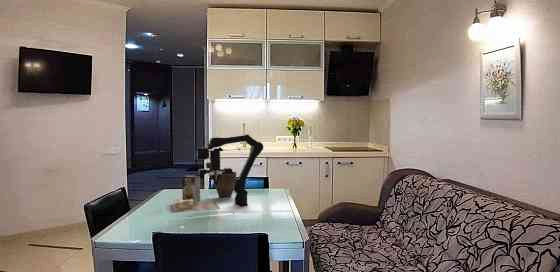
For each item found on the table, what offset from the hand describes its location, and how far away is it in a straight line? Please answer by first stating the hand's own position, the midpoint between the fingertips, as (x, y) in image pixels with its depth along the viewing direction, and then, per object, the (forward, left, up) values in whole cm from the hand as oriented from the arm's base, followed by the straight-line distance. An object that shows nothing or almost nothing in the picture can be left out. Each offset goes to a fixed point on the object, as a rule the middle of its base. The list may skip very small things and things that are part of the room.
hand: (215, 186), depth 223 cm
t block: (+18, 0, -11) cm, 21 cm away
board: (+12, 0, -12) cm, 17 cm away
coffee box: (+12, -18, -12) cm, 25 cm away
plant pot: (-10, -25, -12) cm, 30 cm away
